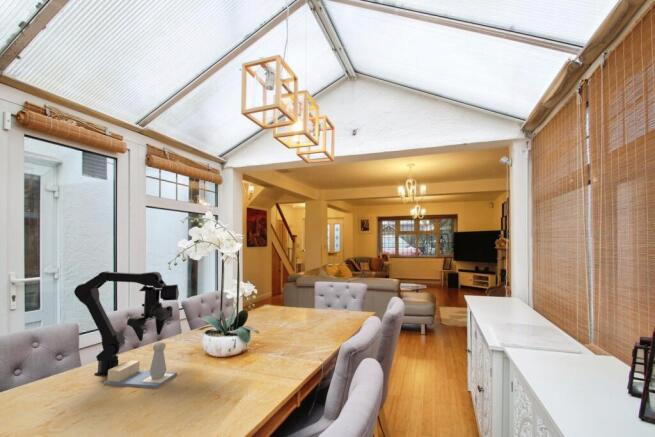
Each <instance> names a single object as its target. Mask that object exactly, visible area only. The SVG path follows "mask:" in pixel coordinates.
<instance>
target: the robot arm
mask: <svg viewBox="0 0 655 437" xmlns="http://www.w3.org/2000/svg"><path fill="white" fill-rule="evenodd" d="M107 282H118V283H134V284H136V283H137V284H139V285H143V286H142V287H141V288H140V289H139V292H144V300H143V301H144V303H142V304H141V307H142V308H143V313H141V314H140V315H141V316H132V317H129V318H128V319H127V322H126V326H129V327H130V328H132V329H133V331H134V333H135V334H136V337H137V339H138V340H139V342H143V339H144V329H145V327H147V324H146V323H147V322H148V321H150V320H155V321H154V322H155V327H156V328H155V330H156V333H157V334H156V335H157V336H159V335H161V333H162V331H163V328H164V326H165V324H166V322H167V321H168V320H170V319H171V317H173V306H171V305H168V306H164V307H163V303H162V302H160V299H161V300H162V301H163V302H164V301H178V299H179V294H180V293H179V292H180V291H179V284H178V283H177V284H166V282H165V281H164V280H163V276H162V274H161V273H160V272H159V271H151V272H150V271H148V272H141V273H138V272H137V273H136V272H117V271H115V272H114V271H109V270H107V271H102V272H100V273H98V274H97V275H96V276H94V277H93V278H91V279H90V280H88V281H86V282H85V283H81V284H79V285H77V286H76V287H75V289H74V291H73V294H74V295H75V297H76V298H77V299H78V300H79V302H80V303H82V304H83V305H84V306H86V309H87V310H88V312H89V313H90V316H91V318H92V320H93V322H94V324H95V326H96V328H97V330H98V332H99V333H100V336H101V346H102V350H101V351H100V353H98V354H97V355H96V361H97V364H98V365H97V372H95V373H94V376H105V377H108V370H109V369H111V368H114V367H116V366H118V365H119V356H118V354H119V353H120V351H122V350H123V348H124V347H125V344H126V340H127V339H126V338H125V336H124V335H123V331H122V330H120V331H119V332H117V330H115V329H114V327H113V325H112V323H111V320H110V319H109V317H108V315H107V313H106V311H105V308H104V306H103V305H102V303H101V301H100V291H99V289H100V288H101V287H103V285H104V284H106V283H107Z"/></svg>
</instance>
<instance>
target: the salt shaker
mask: <svg viewBox="0 0 655 437" xmlns="http://www.w3.org/2000/svg"><path fill="white" fill-rule="evenodd" d="M165 349H166V343H165V342H157V343H154V344H153V346H152V350H153V351H154V353H153V355H152V356H153V357H152V360H151V365H150V367H149V368H150V369H149V371H150V376H151V378H152V379H153V380H156V379H161V378H163V376H164V374H165V372H167V365H166V359H165V351H164V350H165Z"/></svg>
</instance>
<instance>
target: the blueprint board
mask: <svg viewBox="0 0 655 437" xmlns="http://www.w3.org/2000/svg"><path fill="white" fill-rule="evenodd" d="M177 376H178V372H176V371H166V372H165V374H164V376H163V378H161V379H156V380H153V379H152V378H151V376H150V370H144V369H143V370H141V369H140V360H131V359H130V360H128V359H127V361H124V362H122V363H120V364H118V366H116V367H114V368H111V369H109V370H108V376H107V380H105V381H104V382H103V385H106V386H107V385H108V386H118V387H119V386H120V387H131V388H145V389H146V388H148V389H158V388H160V387H161V386H163V385H165V383H167V382H169V381H170V380H171V379H173V378H175V377H177Z"/></svg>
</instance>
